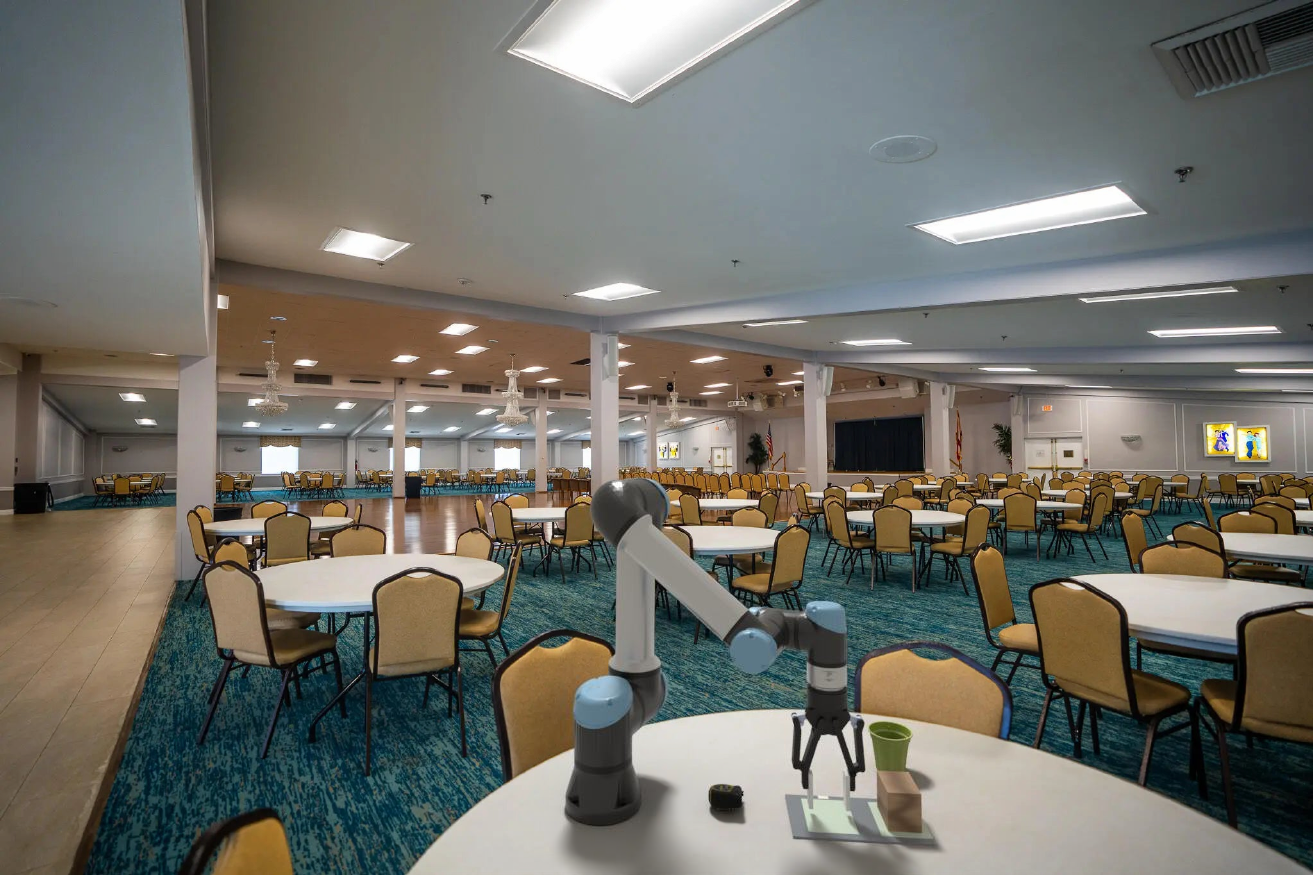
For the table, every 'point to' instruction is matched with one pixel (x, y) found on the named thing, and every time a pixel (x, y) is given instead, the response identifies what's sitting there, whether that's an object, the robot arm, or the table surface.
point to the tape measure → (725, 796)
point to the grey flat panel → (846, 821)
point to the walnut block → (899, 801)
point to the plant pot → (890, 745)
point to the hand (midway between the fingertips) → (828, 805)
